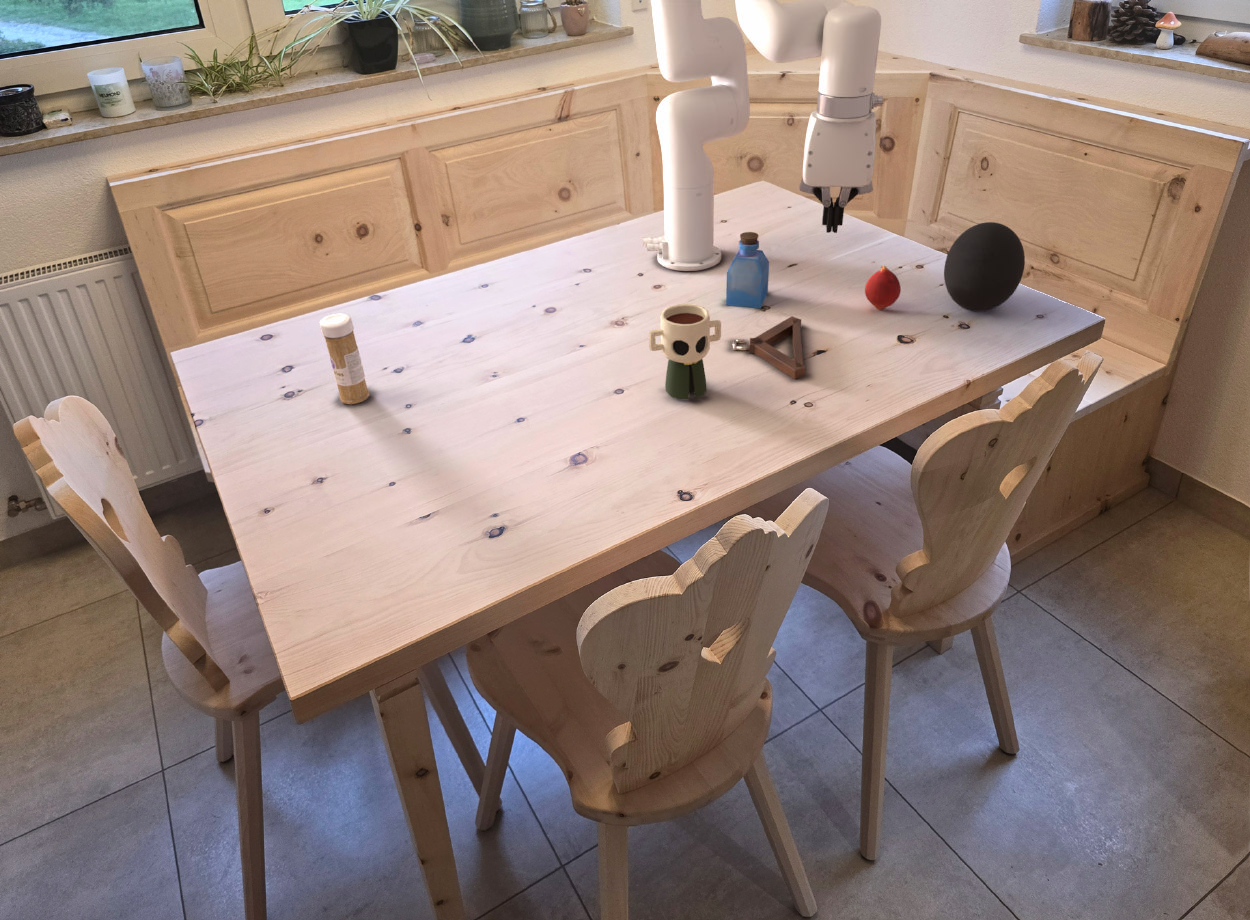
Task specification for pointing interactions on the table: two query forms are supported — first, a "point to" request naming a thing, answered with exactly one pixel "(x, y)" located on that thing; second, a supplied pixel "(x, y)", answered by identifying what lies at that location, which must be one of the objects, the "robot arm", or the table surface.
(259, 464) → the table surface
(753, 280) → the perfume bottle
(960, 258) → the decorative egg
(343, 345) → the sprinkles bottle
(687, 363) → the character mug
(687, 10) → the robot arm
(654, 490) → the table surface
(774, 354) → the hanger
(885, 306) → the onion
